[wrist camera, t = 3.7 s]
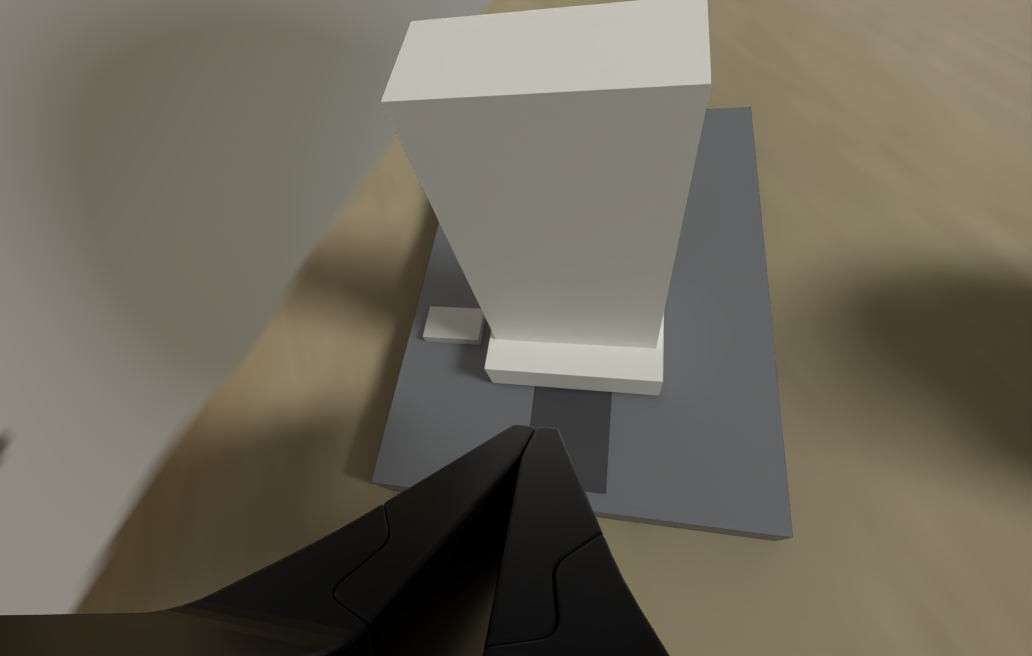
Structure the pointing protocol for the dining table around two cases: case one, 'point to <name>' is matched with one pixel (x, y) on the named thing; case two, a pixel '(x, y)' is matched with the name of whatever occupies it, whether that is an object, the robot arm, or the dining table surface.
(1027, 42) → the dining table surface
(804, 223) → the dining table surface
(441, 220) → the tab
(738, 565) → the dining table surface
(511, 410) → the switch panel
